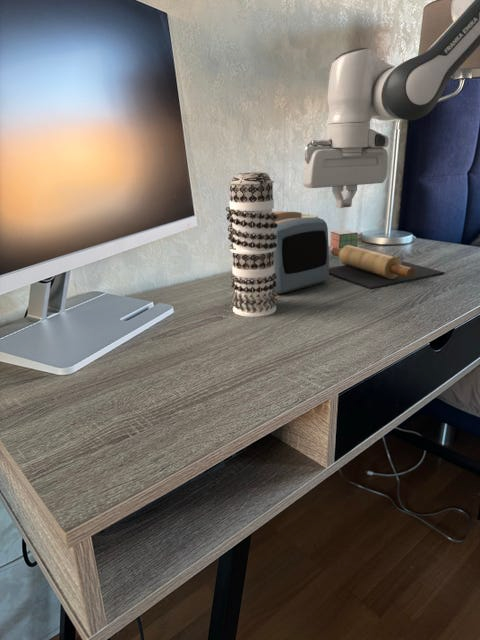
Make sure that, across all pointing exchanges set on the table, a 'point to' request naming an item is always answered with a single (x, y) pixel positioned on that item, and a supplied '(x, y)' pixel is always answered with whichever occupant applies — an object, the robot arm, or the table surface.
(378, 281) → the pastry mat
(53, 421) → the table surface
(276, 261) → the alarm clock
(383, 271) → the rolling pin
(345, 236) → the puzzle toy
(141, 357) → the table surface
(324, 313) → the table surface
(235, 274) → the white patterned cylinder
